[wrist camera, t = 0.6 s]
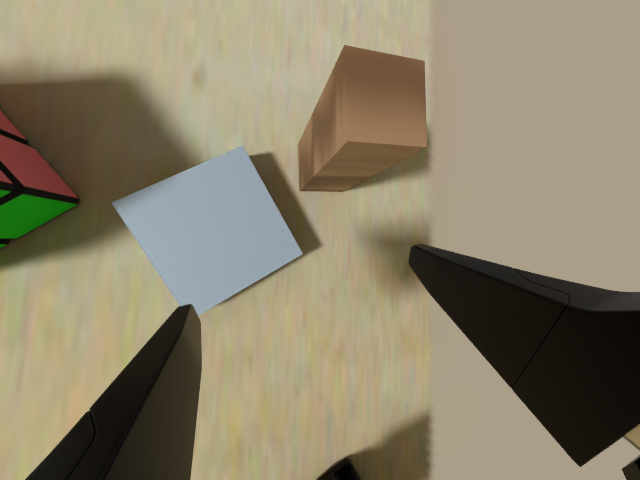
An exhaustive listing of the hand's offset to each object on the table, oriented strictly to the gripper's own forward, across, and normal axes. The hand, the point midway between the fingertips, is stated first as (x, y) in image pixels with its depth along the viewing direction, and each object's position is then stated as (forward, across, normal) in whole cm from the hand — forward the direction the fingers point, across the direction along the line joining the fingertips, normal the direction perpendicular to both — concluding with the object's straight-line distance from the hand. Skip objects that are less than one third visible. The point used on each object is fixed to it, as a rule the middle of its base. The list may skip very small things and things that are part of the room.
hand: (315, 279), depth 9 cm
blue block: (+14, +5, +3) cm, 15 cm away
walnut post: (+15, -6, 0) cm, 16 cm away
